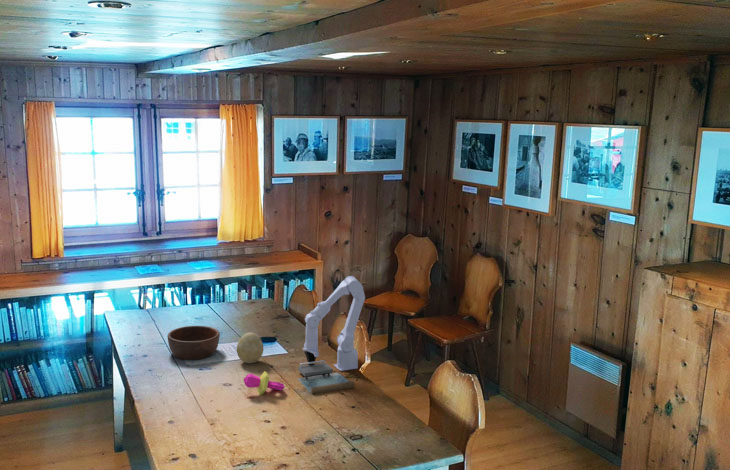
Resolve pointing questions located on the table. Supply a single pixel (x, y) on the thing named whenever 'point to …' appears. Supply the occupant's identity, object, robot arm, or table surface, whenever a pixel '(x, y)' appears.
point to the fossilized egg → (250, 348)
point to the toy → (262, 383)
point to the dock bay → (325, 383)
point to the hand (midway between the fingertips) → (310, 366)
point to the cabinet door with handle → (314, 368)
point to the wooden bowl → (193, 342)
